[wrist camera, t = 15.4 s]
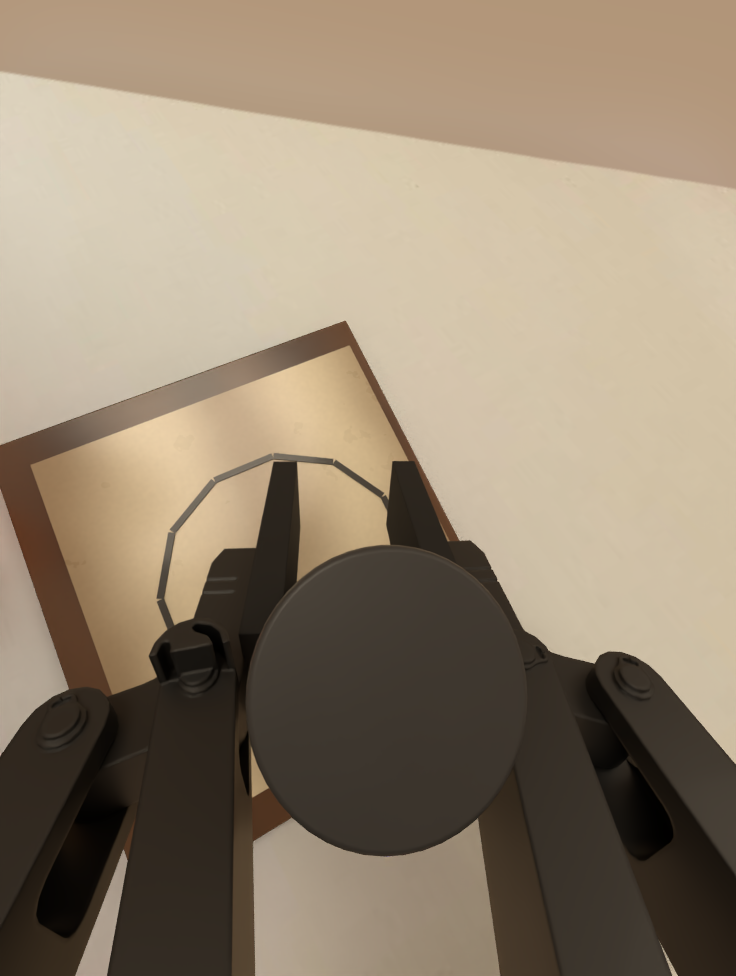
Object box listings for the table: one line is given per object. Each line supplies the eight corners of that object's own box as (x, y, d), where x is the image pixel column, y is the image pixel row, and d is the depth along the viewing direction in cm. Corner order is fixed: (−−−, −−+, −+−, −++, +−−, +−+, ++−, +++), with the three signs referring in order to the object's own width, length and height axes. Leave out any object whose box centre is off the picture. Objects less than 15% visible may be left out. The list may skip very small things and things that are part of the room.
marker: (323, 660, 15) (320, 932, 4) (290, 585, 16) (197, 622, 4) (394, 622, 16) (582, 755, 4) (360, 551, 16) (449, 500, 5)
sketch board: (149, 896, 15) (141, 912, 15) (-4, 453, 18) (-17, 448, 18) (522, 670, 19) (530, 674, 18) (345, 326, 22) (345, 317, 21)
